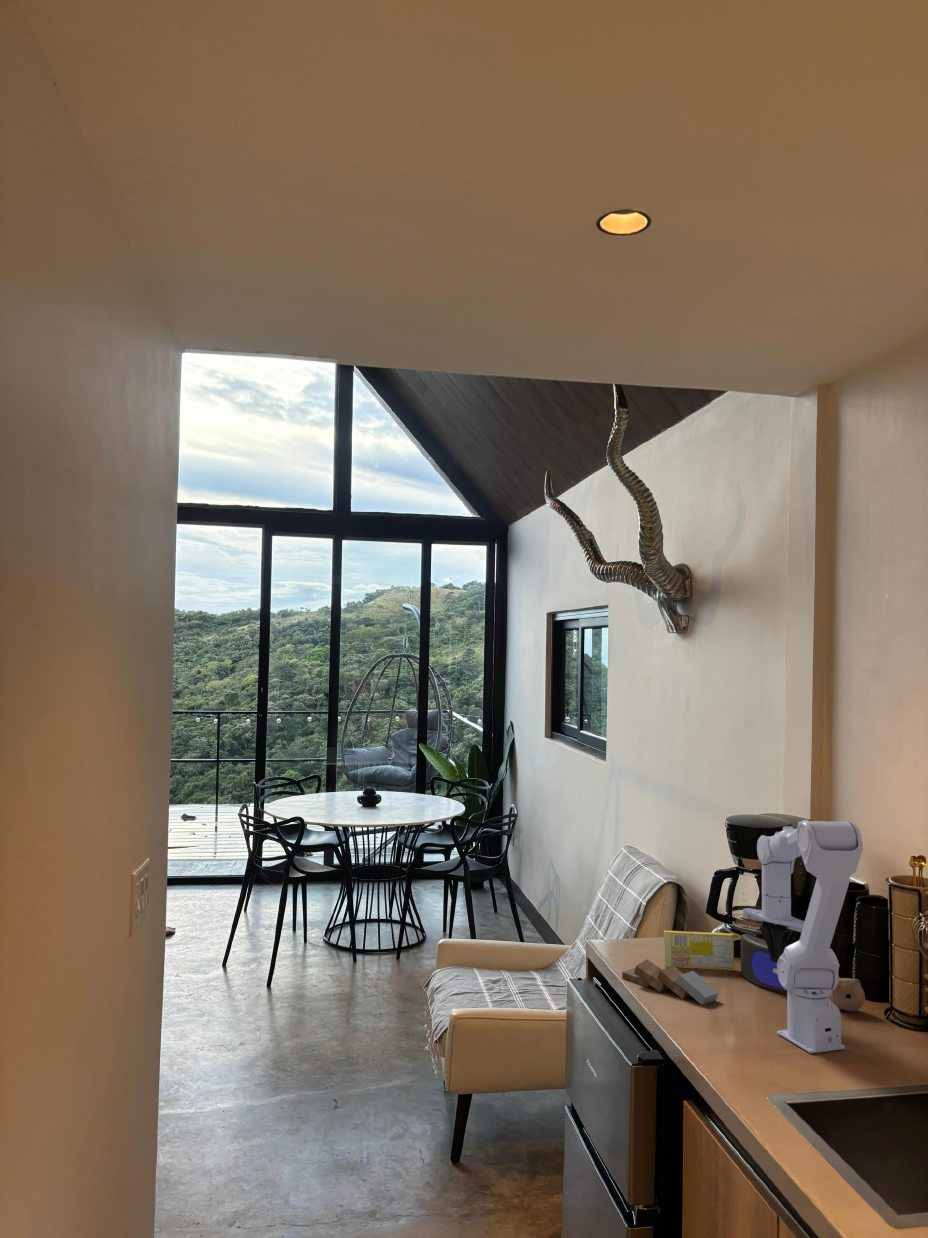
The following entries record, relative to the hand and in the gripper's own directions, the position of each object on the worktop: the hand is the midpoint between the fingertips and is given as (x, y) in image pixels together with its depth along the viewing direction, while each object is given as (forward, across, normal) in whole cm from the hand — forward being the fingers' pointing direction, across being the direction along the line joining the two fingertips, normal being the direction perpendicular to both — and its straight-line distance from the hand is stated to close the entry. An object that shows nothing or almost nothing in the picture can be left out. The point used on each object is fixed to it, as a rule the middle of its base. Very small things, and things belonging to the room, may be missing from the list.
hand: (776, 961), depth 177 cm
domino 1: (+10, +25, +9) cm, 28 cm away
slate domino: (+9, +10, +8) cm, 16 cm away
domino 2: (+9, +21, +9) cm, 24 cm away
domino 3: (+9, +15, +8) cm, 20 cm away
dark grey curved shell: (+10, +10, -13) cm, 19 cm away
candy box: (+10, +26, -10) cm, 30 cm away
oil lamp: (+10, -8, -12) cm, 17 cm away
